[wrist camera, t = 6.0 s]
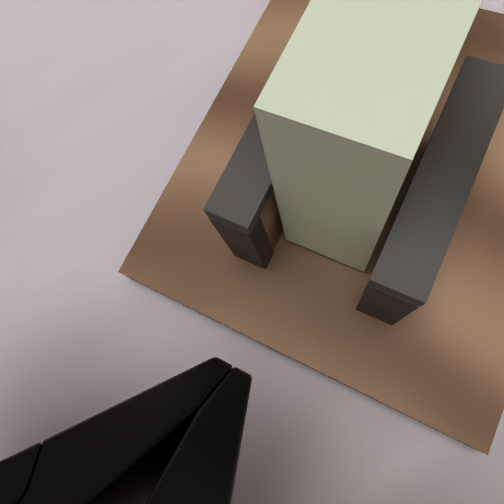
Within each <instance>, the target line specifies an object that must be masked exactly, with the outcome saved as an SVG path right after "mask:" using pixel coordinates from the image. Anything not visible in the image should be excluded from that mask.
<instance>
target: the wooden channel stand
mask: <svg viewBox="0 0 504 504" xmlns="http://www.w3.org/2000/svg"><path fill="white" fill-rule="evenodd" d="M310 1H311V0H271V1H270V2H269V4H268V6H267V8H266V9H265V11H264V13H263V15H262V17H261V18H260V20H259V22H258V24H257V26H256V27H255V29H254V31H253V33H252V34H251V36H250V38H249V40H248V42H247V43H246V45H245V47H244V49H243V50H242V52H241V54H240V56H239V58H238V59H237V61H236V63H235V65H234V67H233V68H232V70H231V72H230V74H229V75H228V77H227V79H226V81H225V83H224V84H223V86H222V88H221V90H220V91H219V93H218V95H217V97H216V99H215V100H214V102H213V104H212V106H211V107H210V109H209V111H208V113H207V115H206V116H205V118H204V120H203V122H202V124H201V125H200V127H199V129H198V131H197V132H196V134H195V136H194V138H193V140H192V141H191V143H190V145H189V147H188V148H187V150H186V152H185V154H184V156H183V157H182V159H181V161H180V163H179V165H178V166H177V168H176V170H175V172H174V173H173V175H172V177H171V179H170V181H169V182H168V184H167V186H166V188H165V189H164V191H163V193H162V195H161V197H160V198H159V200H158V202H157V204H156V206H155V207H154V209H153V211H152V213H151V214H150V216H149V218H148V220H147V222H146V223H145V225H144V227H143V229H142V230H141V232H140V234H139V236H138V238H137V239H136V241H135V243H134V245H133V247H132V248H131V250H130V252H129V254H128V255H127V257H126V259H125V261H124V263H123V264H122V266H121V268H120V270H119V271H118V272H120V273H122V274H123V275H125V276H127V277H129V278H131V279H133V280H135V281H137V282H139V283H141V284H143V285H145V286H147V287H149V288H151V289H153V290H156V291H158V292H160V293H162V294H164V295H166V296H168V297H170V298H172V299H174V300H176V301H178V302H180V303H182V304H184V305H186V306H188V307H190V308H192V309H194V310H196V311H198V312H200V313H202V314H204V315H206V316H208V317H210V318H212V319H214V320H216V321H218V322H220V323H222V324H224V325H226V326H228V327H230V328H232V329H234V330H236V331H238V332H240V333H242V334H244V335H246V336H248V337H250V338H252V339H254V340H256V341H258V342H260V343H262V344H264V345H266V346H269V347H271V348H273V349H275V350H277V351H279V352H281V353H283V354H285V355H287V356H289V357H291V358H293V359H295V360H297V361H299V362H301V363H303V364H305V365H307V366H309V367H311V368H313V369H315V370H317V371H319V372H321V373H323V374H325V375H327V376H329V377H331V378H333V379H335V380H337V381H339V382H341V383H343V384H345V385H347V386H349V387H351V388H353V389H355V390H357V391H359V392H361V393H363V394H365V395H367V396H369V397H371V398H373V399H375V400H377V401H380V402H382V403H384V404H386V405H388V406H390V407H392V408H394V409H396V410H398V411H400V412H402V413H404V414H406V415H408V416H410V417H412V418H414V419H416V420H418V421H420V422H422V423H424V424H426V425H428V426H430V427H432V428H434V429H436V430H438V431H440V432H442V433H444V434H446V435H448V436H450V437H452V438H454V439H456V440H458V441H460V442H462V443H464V444H466V445H468V446H470V447H472V448H474V449H476V450H479V451H481V452H483V453H485V454H487V455H488V453H489V450H490V447H491V444H492V441H493V438H494V435H495V432H496V429H497V426H498V424H499V421H500V418H501V415H502V412H503V409H504V14H501V13H497V12H493V11H488V10H484V9H480V8H479V9H478V12H477V14H476V16H475V19H474V21H473V23H472V25H471V28H470V30H469V32H468V35H467V37H466V39H465V41H464V44H463V46H462V48H461V51H460V53H459V55H458V58H457V60H456V62H455V64H454V67H453V69H452V71H451V74H450V76H449V78H448V80H447V83H446V85H445V87H444V90H443V92H442V94H441V96H440V99H439V101H438V103H437V106H436V108H435V110H434V113H433V115H432V117H431V119H430V122H429V124H428V126H427V129H426V131H425V133H424V135H423V138H422V140H421V142H420V145H419V147H418V149H417V152H416V154H415V156H414V158H413V161H412V163H411V165H410V168H409V170H408V172H407V174H406V177H405V179H404V181H403V184H402V186H401V188H400V190H399V193H398V195H397V197H396V200H395V202H394V204H393V207H392V209H391V211H390V213H389V216H388V218H387V220H386V223H385V225H384V227H383V229H382V232H381V234H380V236H379V239H378V241H377V243H376V246H375V248H374V250H373V252H372V255H371V257H370V259H369V262H368V264H367V266H366V268H365V271H364V272H363V271H360V270H358V269H355V268H353V267H351V266H348V265H346V264H343V263H341V262H339V261H336V260H334V259H331V258H329V257H327V256H324V255H322V254H319V253H317V252H315V251H312V250H310V249H307V248H305V247H303V246H300V245H298V244H295V243H293V242H291V241H288V240H286V238H285V234H284V230H283V226H282V222H281V218H280V214H279V209H278V205H277V201H276V197H275V193H274V189H273V185H272V181H271V177H270V173H269V169H268V164H267V160H266V156H265V152H264V148H263V144H262V140H261V136H260V132H259V128H258V124H257V119H256V115H255V111H254V105H255V103H256V101H257V99H258V97H259V95H260V94H261V92H262V90H263V88H264V86H265V84H266V82H267V81H268V79H269V77H270V75H271V73H272V71H273V69H274V68H275V66H276V64H277V62H278V60H279V58H280V56H281V55H282V53H283V51H284V49H285V47H286V45H287V43H288V42H289V40H290V38H291V36H292V34H293V32H294V30H295V28H296V27H297V25H298V23H299V21H300V19H301V17H302V15H303V14H304V12H305V10H306V8H307V6H308V4H309V2H310Z"/></svg>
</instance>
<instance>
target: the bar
mask: <svg viewBox="0 0 504 504" xmlns="http://www.w3.org/2000/svg"><path fill="white" fill-rule="evenodd" d="M481 2H482V0H311V1H310V2H309V4H308V6H307V8H306V10H305V12H304V14H303V15H302V17H301V19H300V21H299V23H298V25H297V27H296V28H295V30H294V32H293V34H292V36H291V38H290V40H289V42H288V43H287V45H286V47H285V49H284V51H283V53H282V55H281V56H280V58H279V60H278V62H277V64H276V66H275V68H274V69H273V71H272V73H271V75H270V77H269V79H268V81H267V82H266V84H265V86H264V88H263V90H262V92H261V94H260V95H259V97H258V99H257V101H256V103H255V105H254V111H255V115H256V119H257V124H258V128H259V132H260V136H261V140H262V144H263V148H264V152H265V156H266V160H267V164H268V169H269V173H270V177H271V181H272V185H273V189H274V193H275V197H276V201H277V205H278V209H279V214H280V218H281V222H282V226H283V230H284V234H285V238H286V240H288V241H291V242H293V243H295V244H298V245H300V246H303V247H305V248H307V249H310V250H312V251H315V252H317V253H319V254H322V255H324V256H327V257H329V258H331V259H334V260H336V261H339V262H341V263H343V264H346V265H348V266H351V267H353V268H355V269H358V270H360V271H363V272H364V271H365V268H366V266H367V264H368V262H369V259H370V257H371V255H372V252H373V250H374V248H375V246H376V243H377V241H378V239H379V236H380V234H381V232H382V229H383V227H384V225H385V223H386V220H387V218H388V216H389V213H390V211H391V209H392V207H393V204H394V202H395V200H396V197H397V195H398V193H399V190H400V188H401V186H402V184H403V181H404V179H405V177H406V174H407V172H408V170H409V168H410V165H411V163H412V161H413V158H414V156H415V154H416V152H417V149H418V147H419V145H420V142H421V140H422V138H423V135H424V133H425V131H426V129H427V126H428V124H429V122H430V119H431V117H432V115H433V113H434V110H435V108H436V106H437V103H438V101H439V99H440V96H441V94H442V92H443V90H444V87H445V85H446V83H447V80H448V78H449V76H450V74H451V71H452V69H453V67H454V64H455V62H456V60H457V58H458V55H459V53H460V51H461V48H462V46H463V44H464V41H465V39H466V37H467V35H468V32H469V30H470V28H471V25H472V23H473V21H474V19H475V16H476V14H477V12H478V9H479V7H480V5H481Z"/></svg>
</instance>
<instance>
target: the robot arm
mask: <svg viewBox="0 0 504 504" xmlns="http://www.w3.org/2000/svg"><path fill="white" fill-rule="evenodd" d="M251 381H252V377H251V375H250V374H248V373H246V372H244V371H242V370H240V369H238V368H232V366H231V365H230V364H229V363H227V362H225V361H223V360H221V359H219V358H216V357H215V358H211V359H209V360H207V361H205V362H203V363H201V364H199V365H197V366H195V367H193V368H191V369H189V370H187V371H185V372H183V373H181V374H178V375H176V376H174V377H172V378H170V379H168V380H166V381H164V382H162V383H160V384H158V385H156V386H154V387H152V388H150V389H148V390H146V391H144V392H142V393H140V394H138V395H136V396H134V397H131V398H129V399H127V400H125V401H123V402H121V403H119V404H117V405H115V406H113V407H111V408H109V409H107V410H105V411H103V412H101V413H99V414H97V415H95V416H93V417H91V418H89V419H87V420H85V421H82V422H80V423H78V424H76V425H74V426H72V427H70V428H68V429H66V430H64V431H62V432H60V433H58V434H56V435H54V436H52V437H50V438H48V439H46V440H44V441H43V444H41V443H37V444H35V445H33V446H31V447H29V448H27V449H25V450H23V451H21V452H19V453H17V454H15V455H12V456H10V457H8V458H6V459H4V460H2V461H0V504H231V501H232V495H233V489H234V483H235V477H236V471H237V465H238V459H239V453H240V447H241V441H242V435H243V429H244V423H245V417H246V411H247V405H248V399H249V393H250V387H251Z"/></svg>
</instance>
